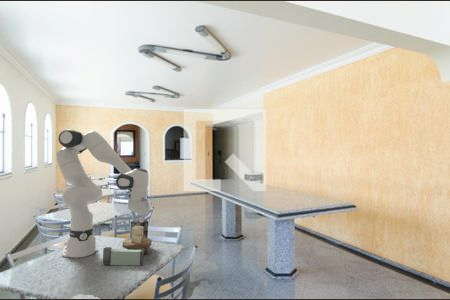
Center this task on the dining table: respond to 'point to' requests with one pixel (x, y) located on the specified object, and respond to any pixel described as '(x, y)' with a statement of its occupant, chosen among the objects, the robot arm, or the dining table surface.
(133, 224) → the coffee box
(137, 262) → the green rectangular block
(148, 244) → the stool
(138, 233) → the birch block
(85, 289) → the dining table surface
